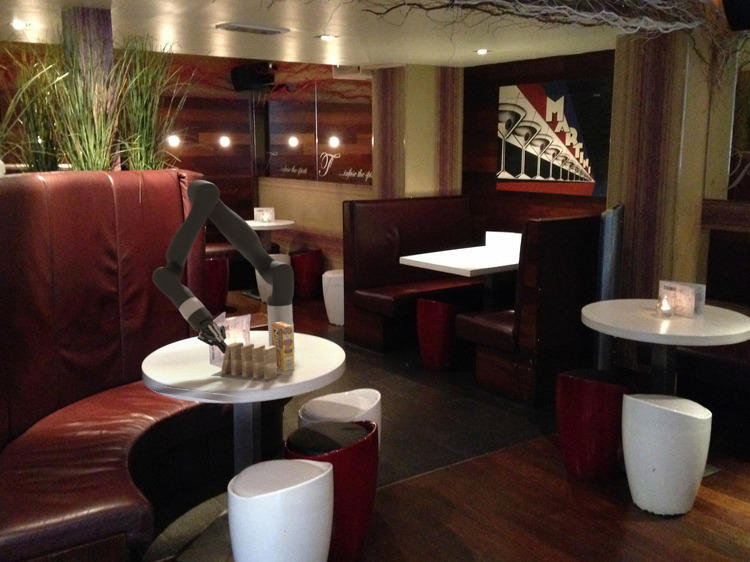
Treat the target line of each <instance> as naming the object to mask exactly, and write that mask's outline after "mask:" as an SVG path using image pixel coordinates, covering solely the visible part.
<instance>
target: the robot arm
mask: <svg viewBox="0 0 750 562" xmlns="http://www.w3.org/2000/svg"><path fill="white" fill-rule="evenodd" d="M186 189H187V190H186V194H187V199H188V201H189V202H190V203H191V204H192V205H191V209H190V211H189V212H188V215H187V216H186V218H185V220H184V222H183V223H182V224H181V225H180V227H179V228H178V230H177V231H176V232H175V234H174V235H173V237H172V239H171V241H170V243H169V245H168V248H167V250H166V253H165V258H166V259H167V261H166V265H165V266H161V267H158V268H156V269H154V271H153V273H152V278H151V279H152V282H153V284H154V285H155V286H156V288H157V289H158V290H159V291H160V292H161V293H163V294H164V295H165V297H167V298H168V299H169V300H171V302H172V304H173V305H174V306H175V308H177V309H178V311H179V312H180V314H181V315H182V317H183V318H184V319H185V320H186V322H187V323H188V324H189V325H190V327H192V329H193V330H194V331H196V332H198V334H199V335H198V336H197V338H196V339H197V340H199V341H201V342H203V343H205V344H207V345H209V346H211V347H213V346H215V347H217V348H218V349H219V350H220V352H221V353H222V354H223V355H225V351H226V347H227V345H228V344H227V343H226V342H225V340H226V339H227V334H226V333H227V332H226V327H225V326H224V325H221V326H220V325H218V324H217V322H214V320H213V318H214V317H213V315H212V313H210V311H209V310H208V309H207V308H206V306H205V305H204V304H203V303H202V302H201V301H200V299H198V298H197V296H195V295H194V293H193V292H192V291H191V290H190V288H189V287H187V286H185V285H184V284H182V283H181V280H182V279H183V278H182V277H183V275H184V274H183V273H184V269H185V264H186V260H187V259H188V257H189V254H190V252H191V249H192V248H193V245H194V243H195V241H196V239H197V237H198V235H199V233H200V231H201V230H202V228H203V226H204V224H205V223H206V221H207V220H208V218H209V220H210V221H211V222H212V223H213V224H214V225H215V227H216V229H218V231H220V233H221V234H222V235H223V236H224V237H225V238H226V239H227V241H228V242H229V243H230V244H231V245H232V247H234V248H235V249H236V250H237V251H238V252H239V253H240V254H241V255H242V256H243V258H245V259H246V260H247V261H248V262H249V263H250V264H251V265H252V267H254V269H255V270H256V271H257V273H258V274H259V275H260V276H261V278H262V280H263V281H264V282H265V283H266V284H268V285H270V286H272V291H271V295H269V296H268V297H267V298H266V300H267V301H266V304H267V305H266V306H267V326H268V347H270V346H272V327H271V323H275V322H284V323H286V324H289V325H291V326H292V329H293V346H294V347H295V333H294V331H295V330H294V326H295V325H294V321H293V298H294V294H295V293H294V291H295V276H294V270H293V269H294V268H293V267H292V266H291V265H290V264H289V263H286V262H284V261H283V262H282V261H277V260H275V259H274V258H273V257H272V256H270V254H269V253H268V252H267V251H266V250H265V248H264V247H263V245H262V242H261V240H260V237H259V236H258V234H257V232H256V231H255V230H254V229H253V228H252V227H251V225H250V224H249V223H248V222H247V221H246V220H245V219H243V217H241V216H240V215H239V214H237V213H236V212H235V211H234V210H232V209H231V208H229V207H228V206H227V205H226V204H224V202H223V201H222V200H221V198H220V195H221V194H220V190H219V188H218V186H217V185H215V184H214V183H212V182H210V181H207V180H204V179H197V180H193V181H191V182H190V184H188V186H187V188H186Z"/></svg>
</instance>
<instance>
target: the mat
mask: <svg viewBox="0 0 750 562" xmlns="http://www.w3.org/2000/svg"><path fill="white" fill-rule="evenodd" d="M283 375H284V373H278V372H277V376H276V377H274V378H272V379H270V380H266V379H265V375H264V376H262V377H260V378H253V374H252V375H250V376H248V377H242V373H241V374H238V375H236V376H233V375H232V373H231V372H229V373H227V374H223V373H221V370H220V371H218V372H215V373H213V374H211V375H210V376H212V377H220V378H229V379H237V380H243V381H253V382H262V383H269V382H271V381H273V380H275V379H278V378H279V377H281V376H283Z"/></svg>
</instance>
